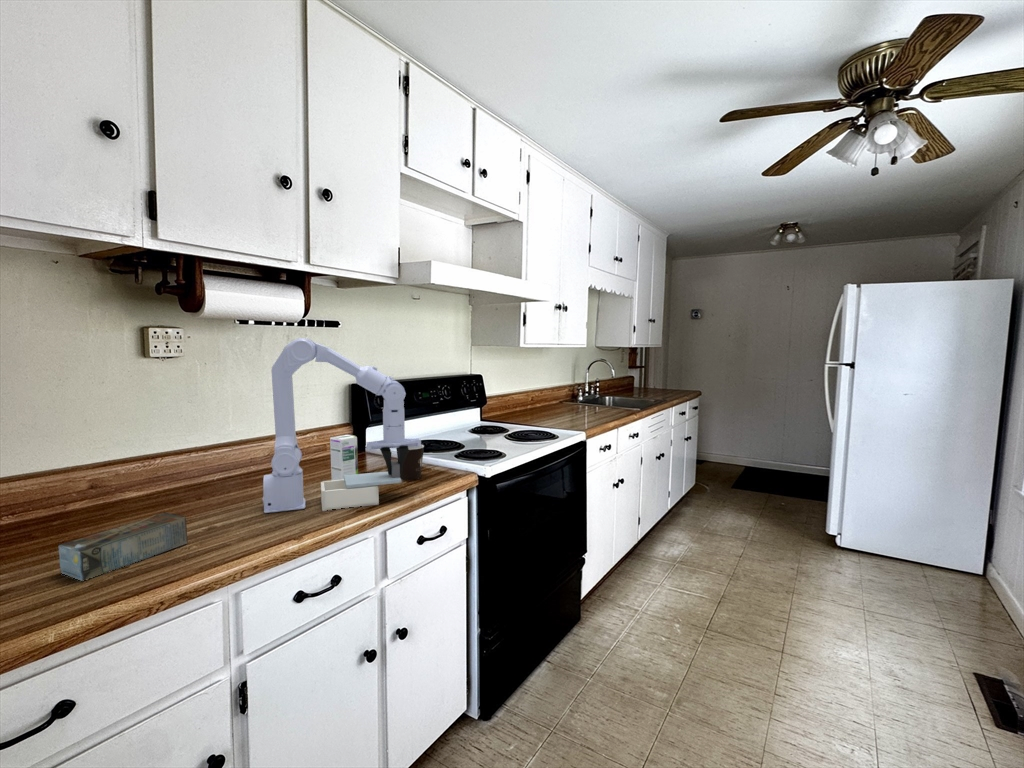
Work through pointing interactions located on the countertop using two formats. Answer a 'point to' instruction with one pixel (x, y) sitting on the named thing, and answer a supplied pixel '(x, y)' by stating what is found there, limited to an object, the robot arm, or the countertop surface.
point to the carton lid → (374, 477)
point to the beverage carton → (122, 545)
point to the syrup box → (343, 456)
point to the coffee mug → (412, 463)
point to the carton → (347, 495)
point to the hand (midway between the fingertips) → (394, 473)
